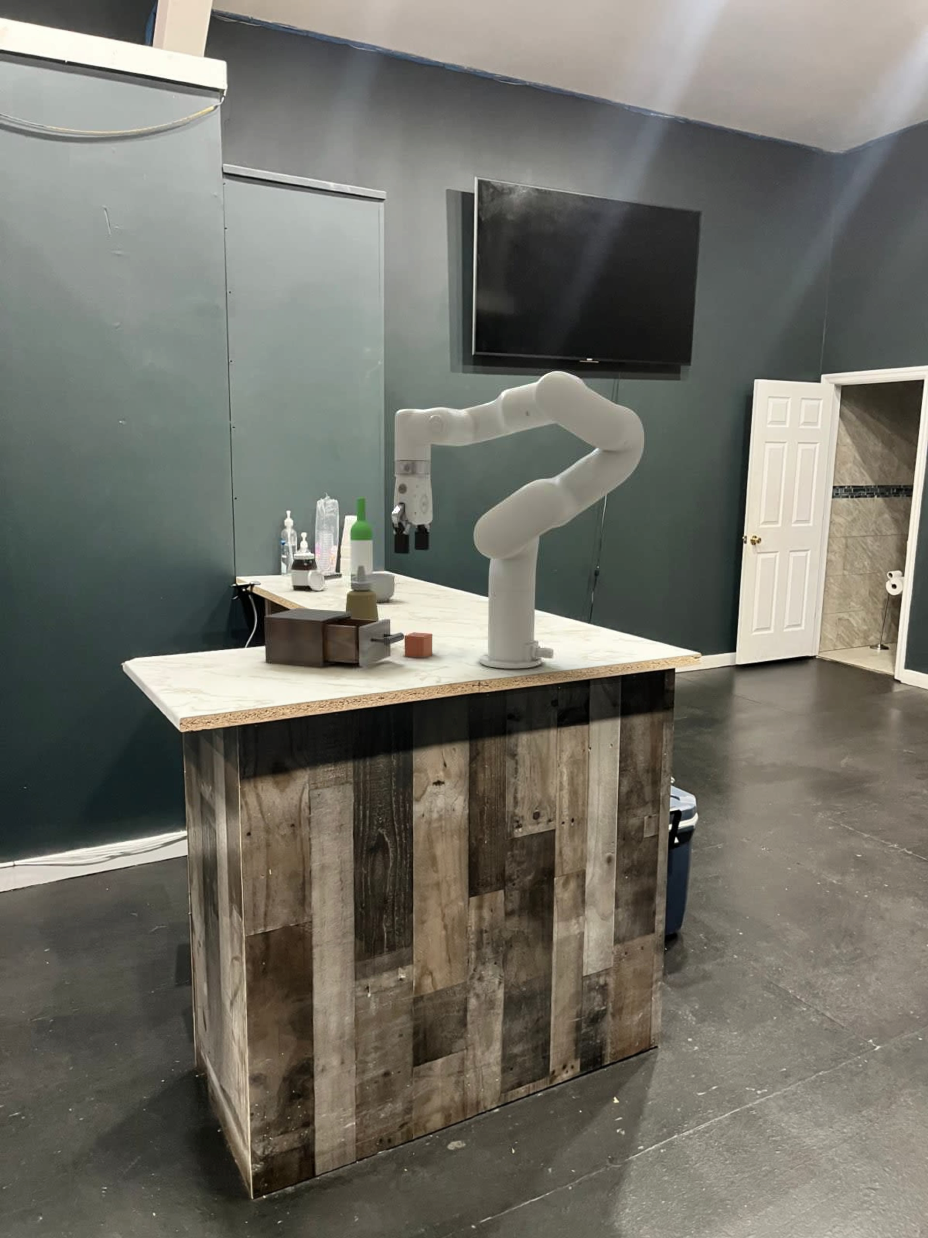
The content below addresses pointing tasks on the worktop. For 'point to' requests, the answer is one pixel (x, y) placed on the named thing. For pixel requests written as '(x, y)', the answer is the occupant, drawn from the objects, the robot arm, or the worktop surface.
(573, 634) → the worktop surface
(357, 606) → the squeeze bottle
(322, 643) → the cabinet
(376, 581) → the teacup
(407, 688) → the worktop surface
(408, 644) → the block
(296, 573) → the spread jar
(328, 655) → the drawer
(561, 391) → the robot arm
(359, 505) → the wine bottle
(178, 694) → the worktop surface
